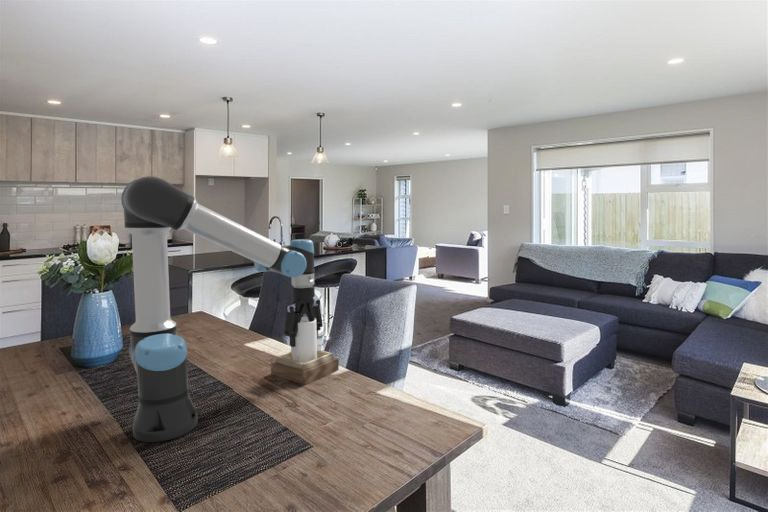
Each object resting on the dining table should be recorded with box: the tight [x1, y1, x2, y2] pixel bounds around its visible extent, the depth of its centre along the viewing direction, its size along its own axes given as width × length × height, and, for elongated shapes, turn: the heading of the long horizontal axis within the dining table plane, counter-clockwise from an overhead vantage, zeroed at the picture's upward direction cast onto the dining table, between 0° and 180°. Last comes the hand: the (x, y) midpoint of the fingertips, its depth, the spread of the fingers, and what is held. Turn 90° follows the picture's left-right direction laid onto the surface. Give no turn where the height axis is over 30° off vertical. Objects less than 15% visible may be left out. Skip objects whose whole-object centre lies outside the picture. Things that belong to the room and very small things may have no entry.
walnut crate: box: [270, 356, 340, 386], centre depth 152 cm, size 16×16×5 cm
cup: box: [292, 316, 318, 363], centre depth 151 cm, size 8×8×16 cm
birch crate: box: [275, 349, 334, 371], centre depth 152 cm, size 13×13×6 cm
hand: (304, 352), depth 151 cm, fingers closed on cup, 8 cm apart
